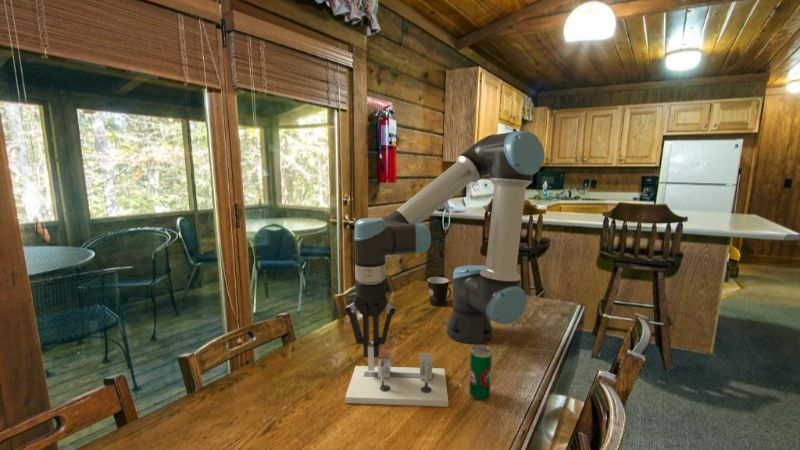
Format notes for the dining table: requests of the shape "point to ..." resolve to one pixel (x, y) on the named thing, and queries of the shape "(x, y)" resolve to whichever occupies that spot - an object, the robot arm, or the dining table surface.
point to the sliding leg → (384, 364)
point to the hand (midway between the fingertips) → (371, 367)
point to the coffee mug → (438, 291)
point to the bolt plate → (397, 387)
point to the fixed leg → (426, 367)
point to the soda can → (480, 372)
